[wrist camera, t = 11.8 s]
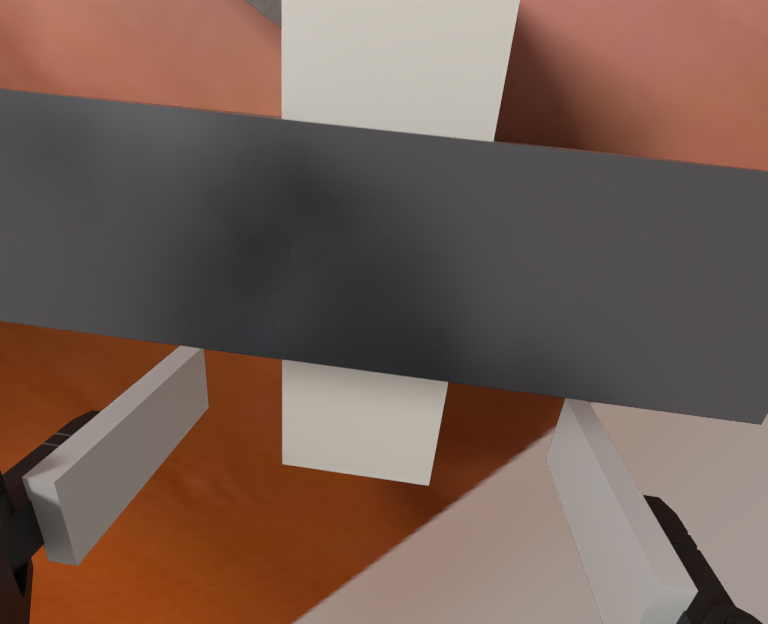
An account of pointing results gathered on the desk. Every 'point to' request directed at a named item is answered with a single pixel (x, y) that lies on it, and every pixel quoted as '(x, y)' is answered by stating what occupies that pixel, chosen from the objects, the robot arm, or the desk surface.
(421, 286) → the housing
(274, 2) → the caliper
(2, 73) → the desk surface
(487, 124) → the plug
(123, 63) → the desk surface
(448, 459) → the desk surface
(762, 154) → the desk surface
